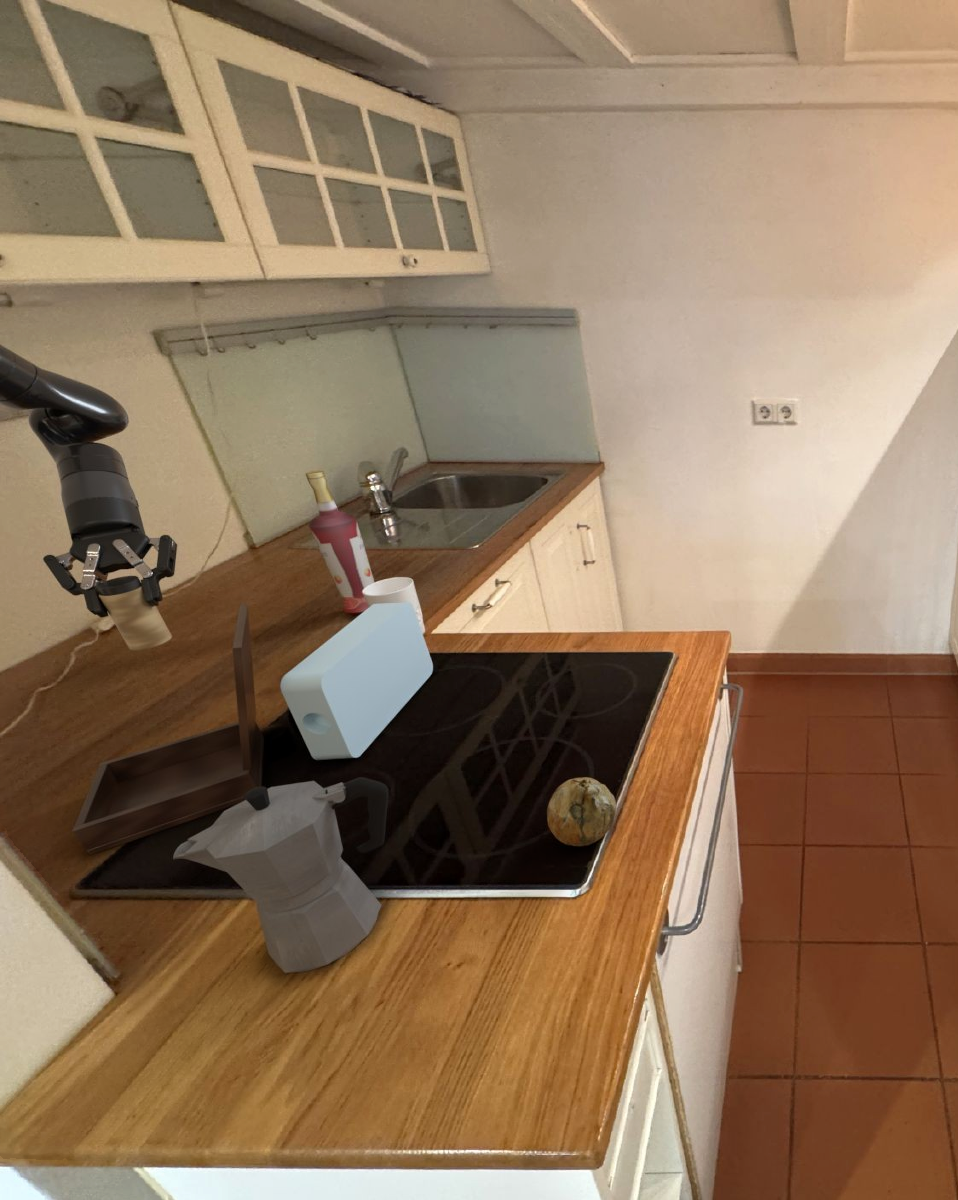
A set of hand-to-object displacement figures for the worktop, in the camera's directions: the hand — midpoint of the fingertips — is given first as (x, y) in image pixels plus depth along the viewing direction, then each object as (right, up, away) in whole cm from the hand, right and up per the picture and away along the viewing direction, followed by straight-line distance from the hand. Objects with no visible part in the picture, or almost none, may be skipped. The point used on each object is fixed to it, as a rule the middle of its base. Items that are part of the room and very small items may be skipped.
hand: (127, 609), depth 94 cm
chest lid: (+26, -9, -11) cm, 29 cm away
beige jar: (-1, -5, +4) cm, 7 cm away
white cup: (+23, -5, +26) cm, 36 cm away
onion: (+73, -26, -18) cm, 79 cm away
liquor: (+9, -1, +36) cm, 37 cm away
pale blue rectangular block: (+34, -16, +4) cm, 38 cm away
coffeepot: (+52, -31, -29) cm, 67 cm away
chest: (+18, -23, -10) cm, 31 cm away
